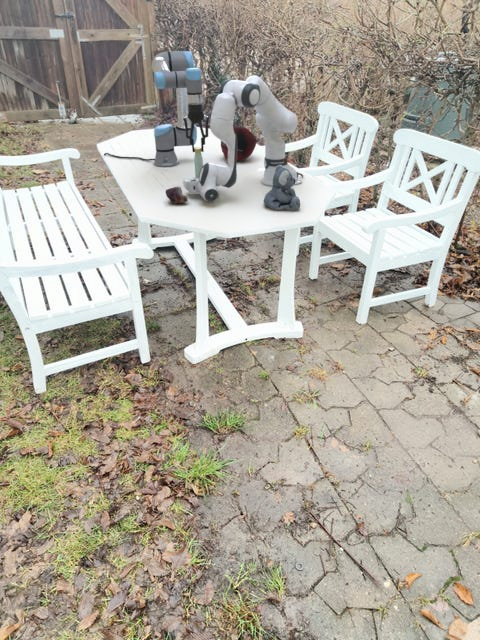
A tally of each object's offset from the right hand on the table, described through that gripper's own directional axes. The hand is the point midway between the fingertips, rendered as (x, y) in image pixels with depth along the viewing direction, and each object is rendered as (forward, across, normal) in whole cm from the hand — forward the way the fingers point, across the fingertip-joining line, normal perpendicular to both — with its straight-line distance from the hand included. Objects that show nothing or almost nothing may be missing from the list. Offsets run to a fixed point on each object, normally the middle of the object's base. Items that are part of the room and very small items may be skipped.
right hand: (199, 178), depth 248 cm
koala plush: (-39, -34, +6) cm, 52 cm away
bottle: (-1, 0, +6) cm, 6 cm away
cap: (-1, 0, -16) cm, 16 cm away
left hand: (-1, 0, -15) cm, 15 cm away
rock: (-17, +16, +6) cm, 24 cm away
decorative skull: (+54, -38, +6) cm, 66 cm away
